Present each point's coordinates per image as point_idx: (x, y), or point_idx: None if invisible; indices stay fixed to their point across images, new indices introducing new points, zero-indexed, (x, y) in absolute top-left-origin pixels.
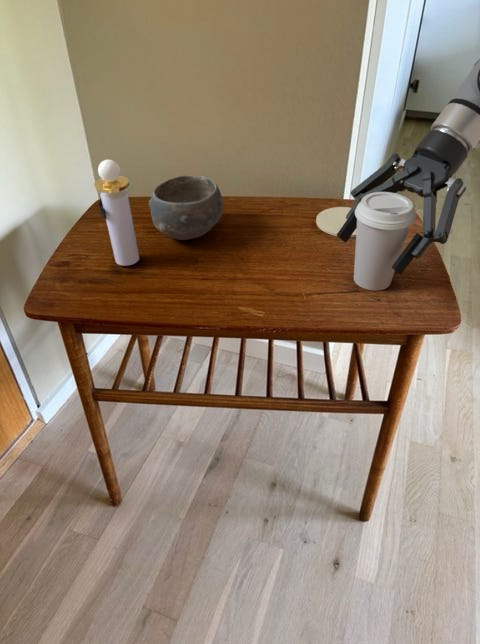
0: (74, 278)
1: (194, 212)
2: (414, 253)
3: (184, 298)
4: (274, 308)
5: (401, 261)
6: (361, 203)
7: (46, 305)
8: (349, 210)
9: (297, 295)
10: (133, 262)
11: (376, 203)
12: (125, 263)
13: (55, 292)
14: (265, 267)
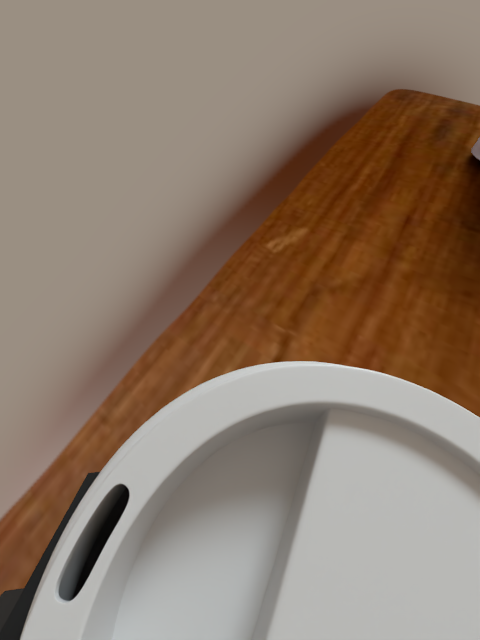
0: (454, 117)
1: None
2: (6, 602)
3: (362, 185)
4: (276, 268)
5: (69, 512)
6: (444, 399)
7: (401, 95)
8: None
9: (293, 320)
10: (477, 154)
11: (418, 558)
12: (474, 145)
13: (426, 103)
14: (420, 317)
